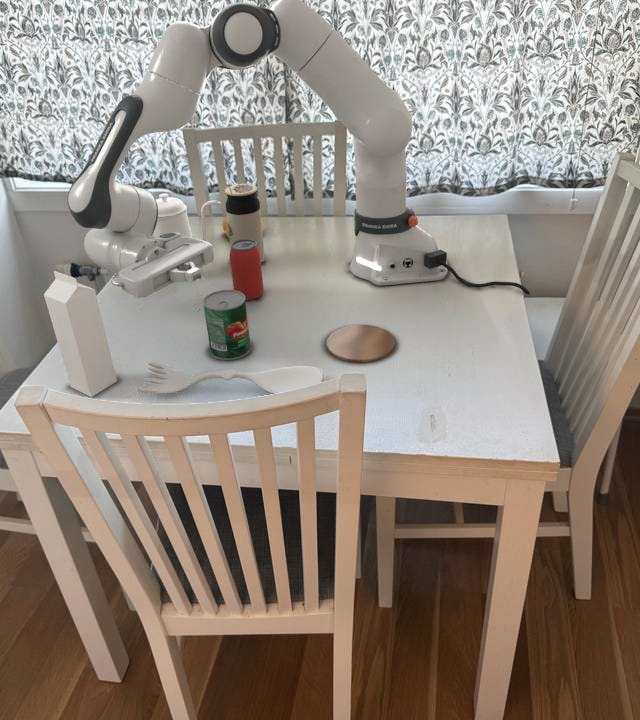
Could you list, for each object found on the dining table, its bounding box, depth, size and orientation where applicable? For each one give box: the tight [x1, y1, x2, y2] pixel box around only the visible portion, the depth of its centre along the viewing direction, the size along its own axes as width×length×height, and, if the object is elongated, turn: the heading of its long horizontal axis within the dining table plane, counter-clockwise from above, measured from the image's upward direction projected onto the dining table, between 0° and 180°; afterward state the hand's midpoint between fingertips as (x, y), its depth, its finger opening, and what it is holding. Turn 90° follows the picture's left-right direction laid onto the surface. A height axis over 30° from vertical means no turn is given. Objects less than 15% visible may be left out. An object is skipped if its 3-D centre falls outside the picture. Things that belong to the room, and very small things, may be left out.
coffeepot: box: [153, 192, 222, 241], centre depth 158 cm, size 11×25×19 cm, turn 84°
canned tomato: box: [202, 289, 252, 361], centre depth 128 cm, size 8×8×11 cm
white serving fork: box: [136, 361, 325, 395], centre depth 119 cm, size 9×32×4 cm, turn 86°
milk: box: [43, 270, 118, 398], centre depth 117 cm, size 6×6×22 cm
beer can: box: [229, 239, 265, 301], centre depth 147 cm, size 7×7×12 cm
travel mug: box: [224, 183, 266, 263], centre depth 161 cm, size 8×8×18 cm
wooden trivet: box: [326, 324, 396, 364], centre depth 130 cm, size 13×13×1 cm
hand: (197, 276), depth 127 cm, fingers closed
